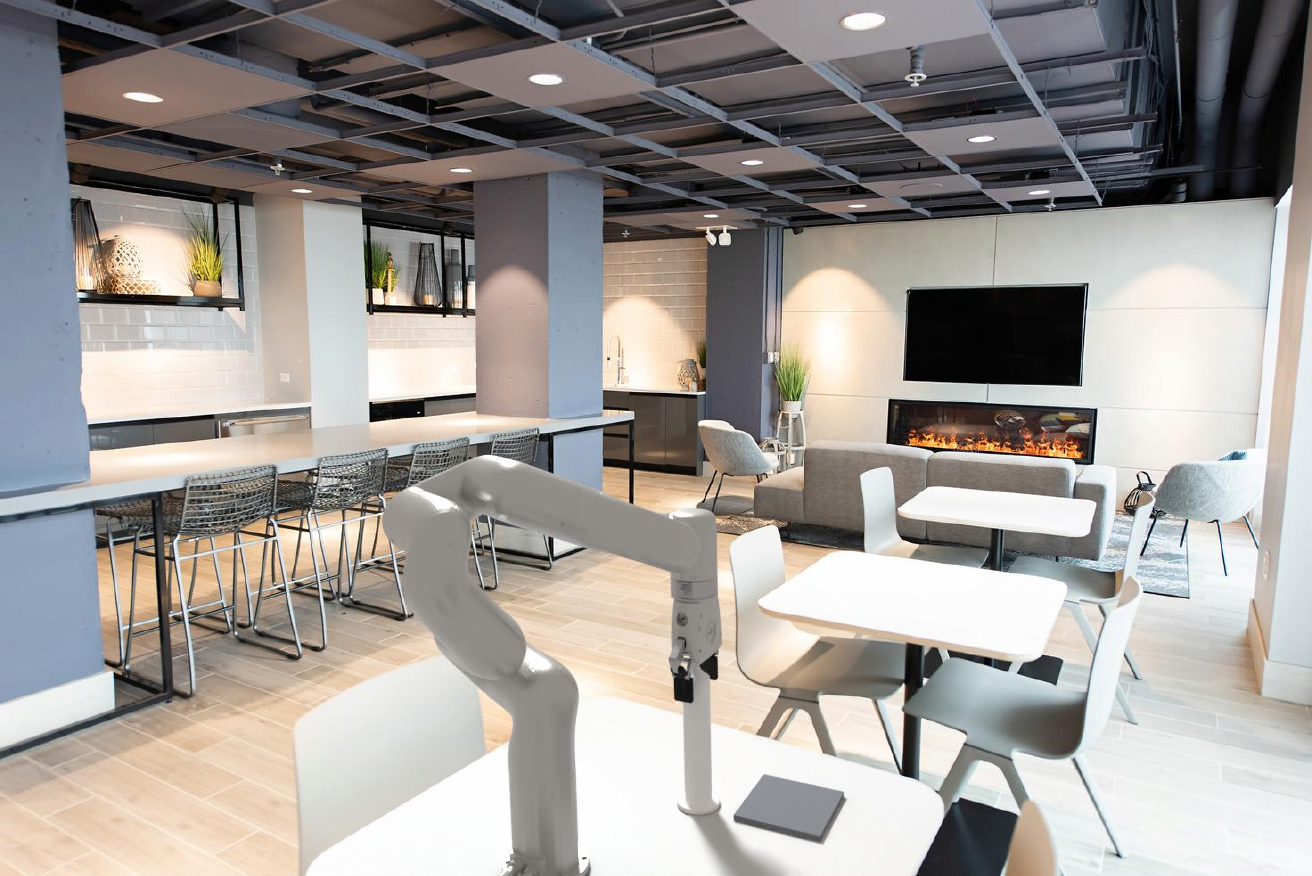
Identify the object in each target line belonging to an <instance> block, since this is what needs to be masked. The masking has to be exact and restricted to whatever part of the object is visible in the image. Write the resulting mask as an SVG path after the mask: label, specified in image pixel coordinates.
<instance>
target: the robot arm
mask: <svg viewBox="0 0 1312 876" xmlns="http://www.w3.org/2000/svg"><path fill="white" fill-rule="evenodd" d="M482 515H484V516H487V517H489V518H492V519H495V520H497V521H499V522H503V523H505V524H508V525H512V526H514V527H515V526H516V527H518V528H521V529H524V530H527V531H531V532H534V533H537V534H539V535H544V536H546V537H550V538H551V539H556V540H559V541H563V542H565V543H567V544H572V545H574V546H577V547H580V548H585V549H588V550H591V551H597V552H602V553H606V554H610V555H615V556H618V557H622V558H624V559H628V560H631V561H633V562H636V563H640V564H643V565H647V566H650V567H653V568H656V569H659V570H662V571H666V572H668V573H670V597H671V598H672V599H673V602H672V612H671V613H672V614H671V652H670V655H669V657H668V663H669V667H670V668H669V669H670V672H671V677H672V678H673V699H674V701H676V702H679V703H680V702H681V703H683V702H685V703H692V702H693V701H694V688H693V678H691V674H692V670H693V666H694V663H696V664H699V666H700V668H701V670H702V671H704V672H705V673H707V674H708V675H709V676H710V681H711V680H712V681H717V680H718V679H719V660H718V659H719V656H718V655H719V651H720V650H719V649H720V648H721V646H722V643H723V634H722V617H721V608H720V606H721V605H720V601H719V583H718V581H719V579H718V576H719V575H718V539H717V538H718V537H717V536H718V534H717V533H718V532H717V531H718V529H717V527H718V526H717V517H716V515H715V514H714V513H713V512H712V511H711V510H709V509H705V508H694V507H693V508H681V509H678V510H675V511H674V512H662V513H661V512H660V513H659V512H658V513H657V512H656V511H653V510H649V509H646V508H644V507H641V506H638V505H636V504H633V503H631V502H627V501H625V500H623V499H620V498H618V497H616V496H613V495H611V494H609V493H606V492H604V491H601V490H600V489H596V488H593V487H591V486H588V485H585V484H582V483H580V482H577V481H574V480H572V479H568V478H565V477H563V476H561V475H558V474H555V473H552V472H549V471H547V470H544V469H542V468H539V467H536V466H532V465H530V464H527V463H525V462H522V461H519V460H515V459H510V458H508V457H507V458H506V457H501V456H498V455H491V454H485V455H481V456H476V457H473V458H471V459H468V460H466V461H463V462H461V463H458V464H456V465H454V466H452V467H450V468H448V469H446V470H443V471H441V472H439V473H437V474H435V475H433V476H431V477H428V478H426V479H424V480H422V481H420V482H417V483H415V484H413V485H410V486H409V487H406V488H405V489H402V490H401V491H400V492H398V493H397V494H395V495H394V496H393V497H392V498H391V499H390V500H389V502H388V503H387V505H386V506H385V508H384V510H383V513H382V519H381V520H382V521H381V524H382V529H383V532H384V535H385V537H386V538H387V540H388V541H389V542H391V544H392V545H393V546H395V547H396V548H398V549H399V550H401V551H403V552H404V553H406V555H405V560H404V565H403V572H402V573H403V574H402V582H403V583H402V585H403V586H402V587H403V594H404V597H405V598H404V599H405V602H406V604H407V606H408V608H409V610H410V611H411V612H412V614H413V615H414V616H415V617H416V619H418V621H420V623H421V624H422V625H423V626H424V627H425V628H426V629H427V630H428V631H429V632H430V633H431V634H432V635H433V639H434V642H435V645H436V648H437V649H438V650H439V651H440V653H441V654H442V656H444V657H445V658H446V659H447V660H448V661H449V662H450V663H451V664H452V665H453V666H454V667H455V668H456V669H458V670H459V671H460V672H461V673H462V674H463V675H464V676H465V677H466V678H467V679H468V680H470V682H472V683H473V684H474V685H475V686H476V687H477V688H478V689H479V690H480V691H482V692H483V693H484V694H485V695H486V696H487V697H489V698H490V699H491V700H493V701H494V702H495V703H496V704H497V705H498V706H500V707H501V708H502V709H504V710H505V711H506V712H507V713H508V714H509V715H510V716H511V719H512V720H511V721H512V730H511V732H510V733H511V734H510V737H509V741H508V746H507V768H508V769H507V770H508V785H509V787H508V788H509V789H508V790H509V804H510V805H509V806H510V807H509V809H510V810H509V811H510V826H511V827H510V829H511V850H510V851H508V853H507V854H506V855H505V857H504V859H503V861H502V867H501V868H502V869H501V870H502V871H501V872H500V873H499V874H497V876H586V875H587V873H588V872H589V869H590V863H591V862H590V853H589V851H588V849H587V847H586V846H585V844H583V843H581V842H579V826H578V821H579V820H578V804H577V803H578V796H577V773H576V772H577V771H576V769H577V768H576V752H575V751H576V750H575V749H576V748H575V747H576V746H575V745H576V742H575V741H576V740H575V739H576V738H575V735H576V734H575V733H576V723H577V716H578V710H579V704H580V703H579V700H580V692H579V687H578V683H577V681H576V678H575V677H574V675H573V674H572V672H571V671H570V670H569V668H567V667H566V666H565V665H564V664H563V663H562V662H560V661H559V660H557V659H555V658H553V657H552V656H551V655H548V654H546V653H545V652H543V651H541V650H540V649H538V648H536V647H534V646H533V645H531V644H530V643H528V642H527V641H526V638H525V635H524V634H525V633H523V630H522V628H521V626H520V625H519V624H518V622H517V621H516V619H514V618H513V617H512V616H511V615H510V614H509V613H508V612H507V611H505V610H504V609H503V608H502V607H501V606H500V605H499V604H498V603H496V601H495V600H493V599H492V598H491V597H490V596H489V594H487V593H486V592H485V591H484V590H483V589H482V587H481V586H480V585H479V584H478V583H477V582H476V580H475V579H474V578H473V577H472V575H471V574H470V570H469V562H468V561H469V555H470V551H471V546H472V540H473V527H472V521H474V520H475V519H477V518H479V517H481V516H482ZM682 664H686V668H685V667H684V666H683V665H682Z"/></svg>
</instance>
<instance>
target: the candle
mask: <svg viewBox="0 0 1312 876" xmlns="http://www.w3.org/2000/svg"><path fill="white" fill-rule="evenodd" d="M691 678H693V688H694V701H693V702H692V703H685V702H682V730H683V731H682V734H683V776H684V777H683V778H684V782H683V783H684V784H683V785H684V790H683V791H682V792H680V793H679V794H678V796H677V798H676V804H677V808H678V809H679V810H680V811H682V812H684V813H686V814H688V815H695V816H703V815H709V814H711V813H714V812H715V811H716V810H718V808H719V807H720V806H721V798H720V796H719V795H718V793H716V792H715V791H713V776H712V775H713V772H712V771H713V770H712V768H713V767H712V766H713V765H712V764H713V763H712V725H711V724H712V723H711V722H712V719H711V717H712V716H711V715H712V714H711V713H712V711H711V707H712V706H711V679H710V676H709V675H708V674H707V673H705V672H704V671H702V670H701V668H700V666H699V664H696V663H694V666H693V670H692V674H691Z"/></svg>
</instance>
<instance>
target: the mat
mask: <svg viewBox="0 0 1312 876" xmlns="http://www.w3.org/2000/svg"><path fill="white" fill-rule="evenodd" d="M844 797H845V791H842V790H838V789H833V788H828V787H823V786H819V785H817V784H811V783H806V782H801V781H797V780H793V779H789V778H788V779H787V778H783V777H779V776H774V775H770V774H766V773H763V775H762V776H761V777H760V779H759V780H758V782H756V784H755V786H754V787H753V788H752V789H751V791H750V792H749V794H748V795H747V796H746V798H745V799H744V800H743V802H742V803H741V804H740V805H739V807H738V808H737V810H736V811H735V812H734V813H733V821H739V822H742V823H745V824H749V825H754V826H758V827H761V828H766V829H770V830H774V831H778V832H783V833H786V834H789V835H794V836H798V837H801V838H805V839H809V840H813V841H817V842H821V840H822V838H823V836H824V834H825V832H826V831H827V829H828V827H829V825H830V823H831V822H832V820H833V817H835V815H836V812H837V810H838V808H839V807H840V805H841V803H842V801H843V799H844Z"/></svg>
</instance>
